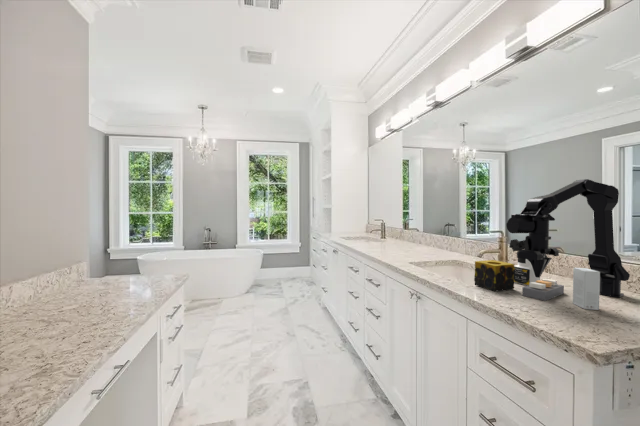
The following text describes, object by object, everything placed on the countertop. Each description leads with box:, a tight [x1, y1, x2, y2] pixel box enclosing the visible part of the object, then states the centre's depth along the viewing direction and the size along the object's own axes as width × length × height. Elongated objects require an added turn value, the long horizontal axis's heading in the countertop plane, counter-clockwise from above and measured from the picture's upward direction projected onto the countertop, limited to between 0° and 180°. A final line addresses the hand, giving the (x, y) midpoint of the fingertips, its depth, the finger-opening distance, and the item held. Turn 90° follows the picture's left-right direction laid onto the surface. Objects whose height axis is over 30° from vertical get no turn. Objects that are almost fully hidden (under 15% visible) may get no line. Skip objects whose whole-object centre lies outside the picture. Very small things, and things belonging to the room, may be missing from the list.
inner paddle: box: [541, 278, 558, 285], centre depth 111 cm, size 3×4×1 cm, turn 33°
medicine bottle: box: [514, 258, 541, 286], centre depth 125 cm, size 7×7×12 cm
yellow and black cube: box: [473, 259, 515, 292], centre depth 119 cm, size 10×10×10 cm
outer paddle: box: [529, 282, 546, 289], centre depth 106 cm, size 3×4×1 cm, turn 33°
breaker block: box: [521, 283, 565, 302], centre depth 109 cm, size 16×7×3 cm, turn 123°
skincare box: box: [572, 267, 601, 311], centre depth 96 cm, size 6×4×12 cm
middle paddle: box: [536, 279, 552, 287], centre depth 109 cm, size 3×4×1 cm, turn 33°
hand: (537, 277), depth 106 cm, fingers closed
